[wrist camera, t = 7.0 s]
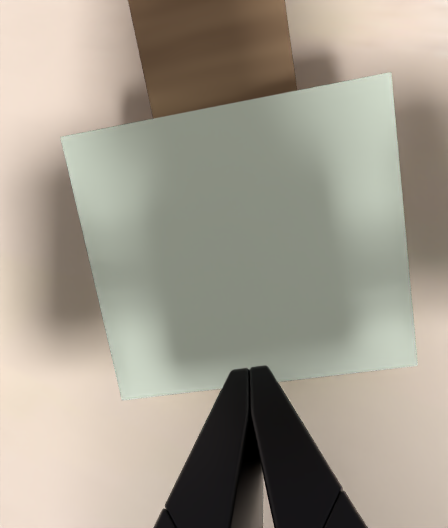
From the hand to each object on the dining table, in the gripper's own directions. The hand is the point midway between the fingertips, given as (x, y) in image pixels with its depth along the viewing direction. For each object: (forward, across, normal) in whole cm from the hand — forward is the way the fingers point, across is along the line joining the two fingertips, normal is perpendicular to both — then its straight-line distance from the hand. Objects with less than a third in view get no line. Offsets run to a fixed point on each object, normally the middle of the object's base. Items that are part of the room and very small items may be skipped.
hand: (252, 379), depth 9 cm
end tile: (+4, 0, +4) cm, 6 cm away
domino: (+8, 0, 0) cm, 8 cm away
